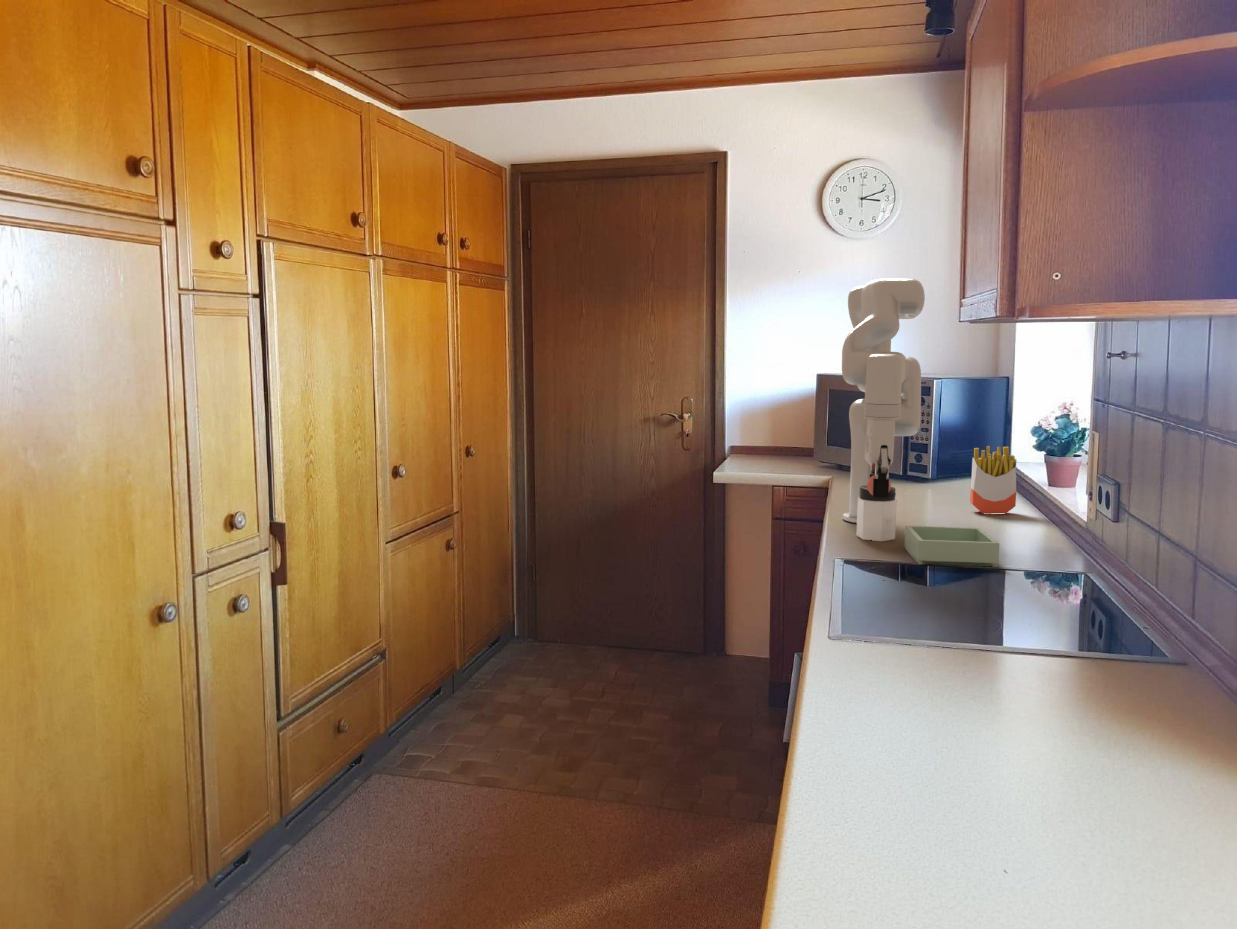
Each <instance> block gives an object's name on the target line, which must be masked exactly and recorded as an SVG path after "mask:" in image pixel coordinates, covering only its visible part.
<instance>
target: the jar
mask: <svg viewBox="0 0 1237 929" xmlns="http://www.w3.org/2000/svg"><path fill="white" fill-rule="evenodd" d="M896 493H897V492H896V488H895V487H893V486H891V488H890V491H889V493H888V497H887V498H884V497H873V495H872V494H870V492H869V491H868V488H867V485H865V486H861V487H860V495H859V497H858V507H857V523H856V533H855V534H856V537H857V538H858V537H859V538H860V540H863V541H870V540H872V542H881V543H882V542H887V541H894V540H895V539H896V523H897V505H898V504H897V502H898V501H897V499H896V496H897V495H896Z"/></svg>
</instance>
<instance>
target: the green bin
mask: <svg viewBox="0 0 1237 929" xmlns="http://www.w3.org/2000/svg"><path fill="white" fill-rule="evenodd" d="M904 549H905V551H907V553H908V554H909V555H910V557H911V558H912V557H913V558H912V559H913V560H914V561H915V563H916V562H917V563H918V564H917V563H916V564H917V565H925V564H935V565H934V566H954V565H960V567H982V566H992V567H991V568H998V567H999V555H1000V554H999V553H1000V542H998V541H997V540H996V539H995V538H993V537H992V536H991V535H990V534H989V533H987V532H986V531H984V530H983V529H982V528H981V527H961V526H960V527H959V526H956V527H955V526H931V525H930V526H929V525H928V526H926V525H925V526H924V525H923V526H922V525H905V530H904Z"/></svg>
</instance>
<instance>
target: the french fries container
mask: <svg viewBox="0 0 1237 929" xmlns="http://www.w3.org/2000/svg"><path fill="white" fill-rule="evenodd" d="M996 448H997V449H996V451H993V452H992V454H991V452H990V451H991V446H989V445H987V446H986V448H985V449H986V450H982V449H981V454H980V450H979V449H980V448H979V447H974V448H973V457H972V459H971V460H972V461H971V478H970V481H971V482H970V497H969V498H970V499H969V500H970V504H971V505H973V507H975V509H976V510H978V512H980V513H981V514H982V513H1006V514H1008V513H1009V512H1010V511H1011V510H1013V509H1014V508H1015V507H1016V506H1017V505H1016V504H1017V503H1016V502H1017V459H1016V458H1015V457H1016V456H1015V455H1011V454H1010V452H1009V451H1010V446H1002V447H1001V446H997V447H996ZM1001 449H1002V450H1001ZM979 455H980V456H979Z"/></svg>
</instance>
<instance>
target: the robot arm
mask: <svg viewBox="0 0 1237 929" xmlns="http://www.w3.org/2000/svg"><path fill="white" fill-rule="evenodd" d="M924 289H925V288H924V286H923V285H922V283H921V282H920V281H919V280H918V279H915V278H879V279H874V280H870V281H869V282H867V283H866V284H865V285H859V286H856V287H854V288H852V289H851V290H850V291H849V293H848V297H847V307H848V314H849V319H850V322H851V324H852V325H851V326H852V328H853V329H852V330H851V331H850V332H849V333H848V335H847V336H846V337H845V340H844V341H843V345H842V350H841V375H842V378H843V380H844V381H845V382H846V383H847V384H848V385H852V386H857V388H858V389H859V391H861V392H863V393H864V398H860V399H857V400H854V401H853V402H852V404H850V406H849V411H848V419H849V420H848V421H849V429H850V440H851V441H850V442H851V443H850V444H851V445H850V447H851V448H850V450H851V451H850V474H849V476H850V477H849V478H850V480H849V481H850V482H849V505H848V506H849V507H848V512H844V513H843V514H842V520H844V521H846V522H850V523H854V524H855V523H856V524H857V507H858V497H859V495H860V487H861V486H865V485H867V483H868V480H869V479H870V478H871V477H872V476H873V475H875V479H873V497H884V498H887V497H888V493H889V480H890V477H889V476H890V475H889V474H890V470H889V469H890V466H892V464H893V462H894V456H895V455H894V453H895V437H911V436H915V435H916V434H917V433H918V432H919V430H920V427H921V417H922V416H921V413H922V412H921V410H922V409H921V408H922V369H921V366H920V362H919V361H918V359H916V358H915V357H912V356H906V355H905V354H903V353H902V352H898V351H891V350H892V339H893V338H895V337H896V336H897V334H898V332H899V331H900V320H910V319H915V318H916V317H918V316H919V315H920V314H921V313H922V312H923V309H924V306H925V300H926V298H925V290H924Z"/></svg>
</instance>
